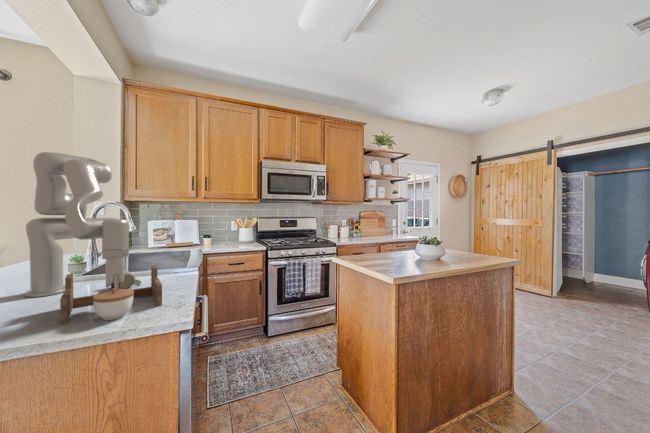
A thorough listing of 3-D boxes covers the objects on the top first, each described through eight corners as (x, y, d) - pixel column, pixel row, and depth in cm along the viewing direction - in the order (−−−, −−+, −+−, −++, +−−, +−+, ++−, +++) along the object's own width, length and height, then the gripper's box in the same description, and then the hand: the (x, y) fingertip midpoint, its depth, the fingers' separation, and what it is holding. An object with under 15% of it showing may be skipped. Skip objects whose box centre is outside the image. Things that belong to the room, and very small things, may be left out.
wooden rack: (67, 307, 95) (67, 274, 95) (155, 293, 112) (155, 265, 112) (60, 324, 81) (60, 286, 81) (161, 305, 99) (161, 273, 98)
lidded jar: (107, 325, 81) (107, 295, 81) (84, 320, 85) (84, 291, 84) (141, 312, 91) (141, 286, 91) (119, 308, 95) (119, 282, 94)
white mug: (116, 291, 114) (117, 273, 114) (110, 287, 119) (110, 270, 119) (144, 286, 123) (144, 269, 123) (137, 282, 128) (138, 267, 127)
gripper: (102, 251, 98) (102, 300, 98) (101, 257, 86) (102, 312, 87) (127, 249, 103) (127, 296, 103) (130, 255, 91) (130, 307, 92)
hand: (116, 303), depth 95 cm, fingers closed
